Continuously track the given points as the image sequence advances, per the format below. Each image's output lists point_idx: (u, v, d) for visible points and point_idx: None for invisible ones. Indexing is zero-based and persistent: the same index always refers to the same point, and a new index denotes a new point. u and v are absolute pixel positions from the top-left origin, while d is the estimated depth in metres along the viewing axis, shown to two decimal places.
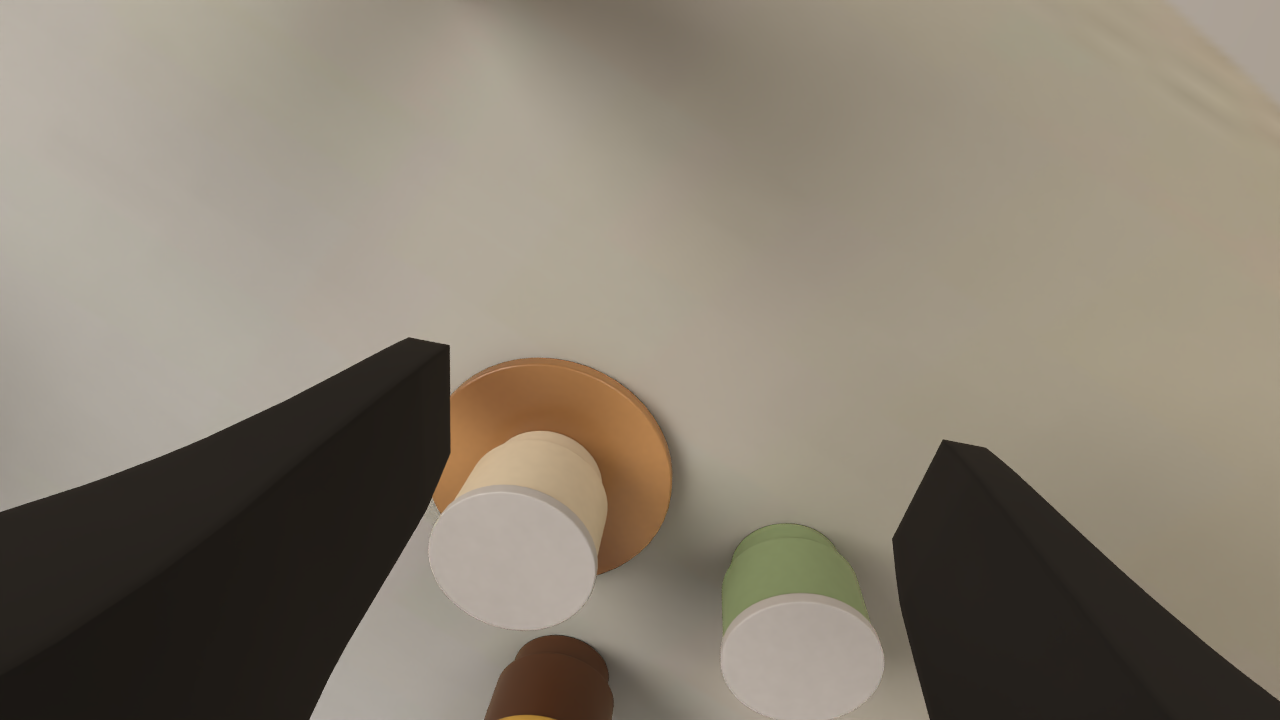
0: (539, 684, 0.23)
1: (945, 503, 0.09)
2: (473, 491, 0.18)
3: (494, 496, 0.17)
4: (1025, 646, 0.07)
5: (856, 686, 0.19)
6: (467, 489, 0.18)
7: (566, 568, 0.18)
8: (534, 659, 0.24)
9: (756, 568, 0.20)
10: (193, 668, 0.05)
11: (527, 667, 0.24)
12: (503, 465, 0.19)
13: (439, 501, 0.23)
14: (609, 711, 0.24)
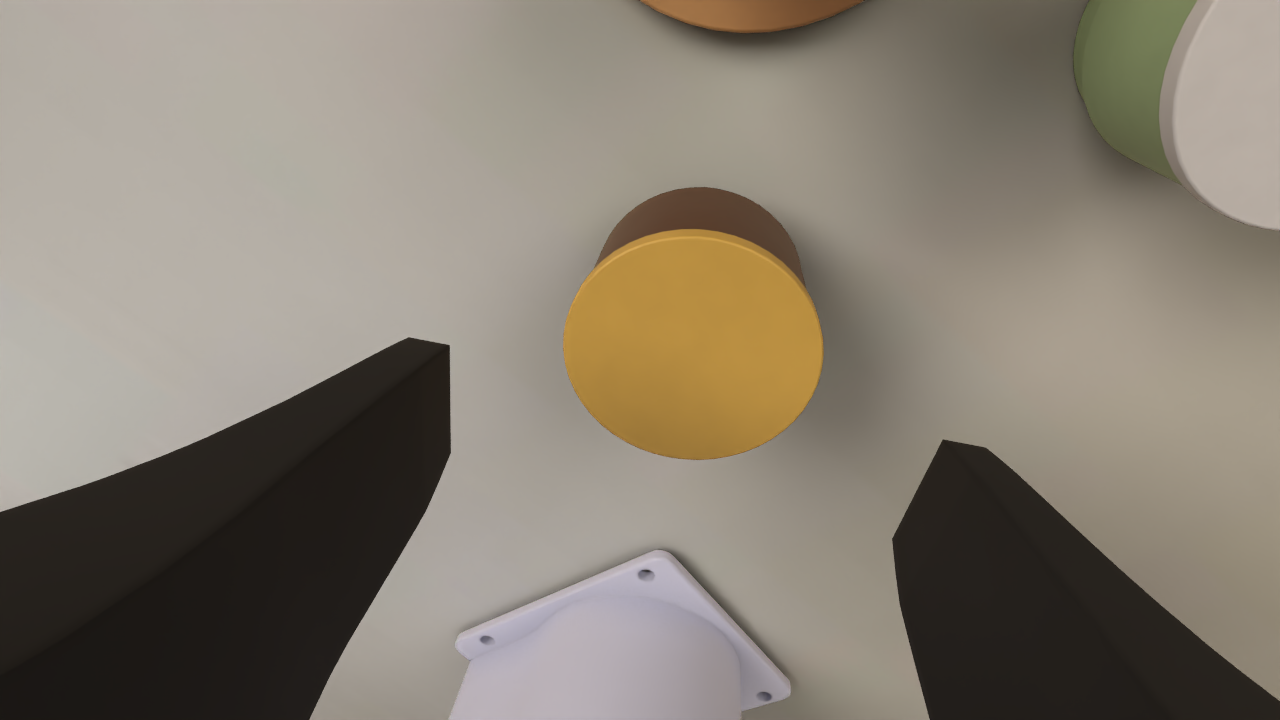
0: (702, 209, 0.12)
1: (945, 503, 0.09)
2: None
3: None
4: (1025, 646, 0.07)
5: None
6: None
7: None
8: (679, 192, 0.13)
9: None
10: (195, 668, 0.05)
11: (669, 199, 0.13)
12: None
13: None
14: None
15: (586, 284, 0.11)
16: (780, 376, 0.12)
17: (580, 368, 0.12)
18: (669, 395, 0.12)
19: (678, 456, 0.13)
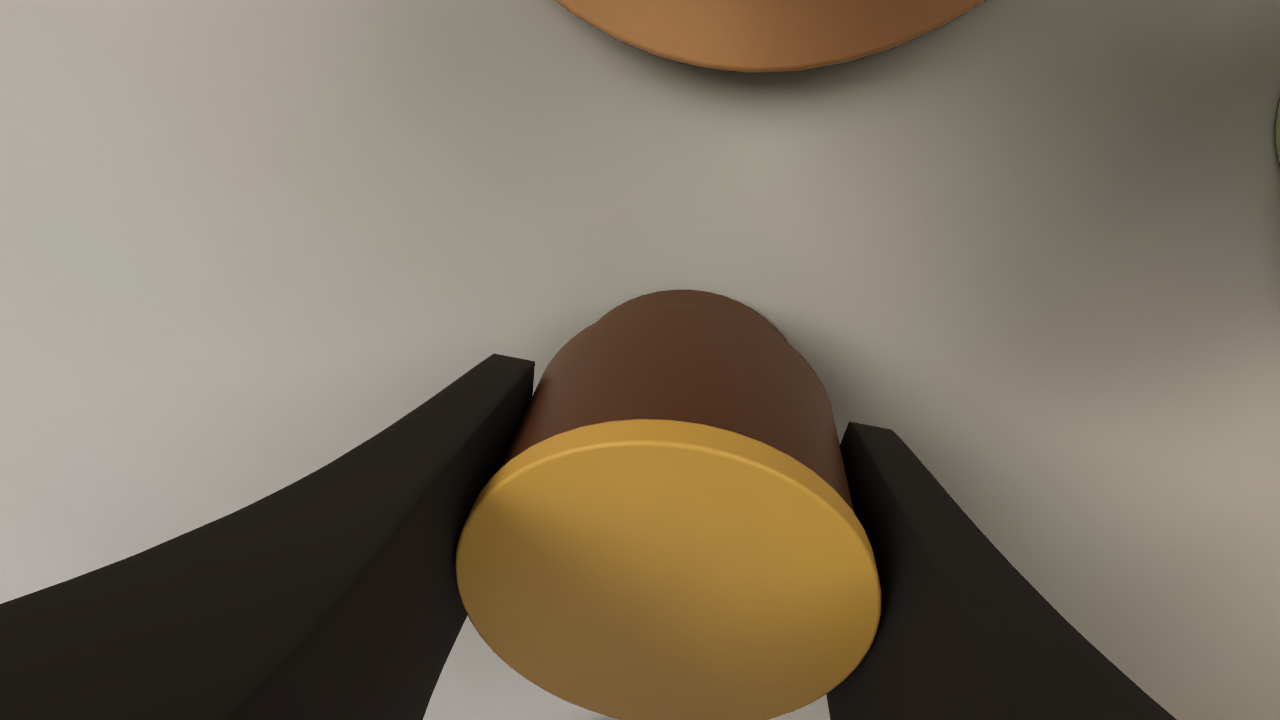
0: (681, 360, 0.07)
1: None
2: None
3: None
4: (899, 621, 0.07)
5: None
6: None
7: None
8: (649, 313, 0.09)
9: None
10: (347, 698, 0.05)
11: (632, 329, 0.08)
12: None
13: None
14: None
15: (483, 501, 0.07)
16: (806, 638, 0.07)
17: (486, 610, 0.08)
18: (629, 651, 0.08)
19: None
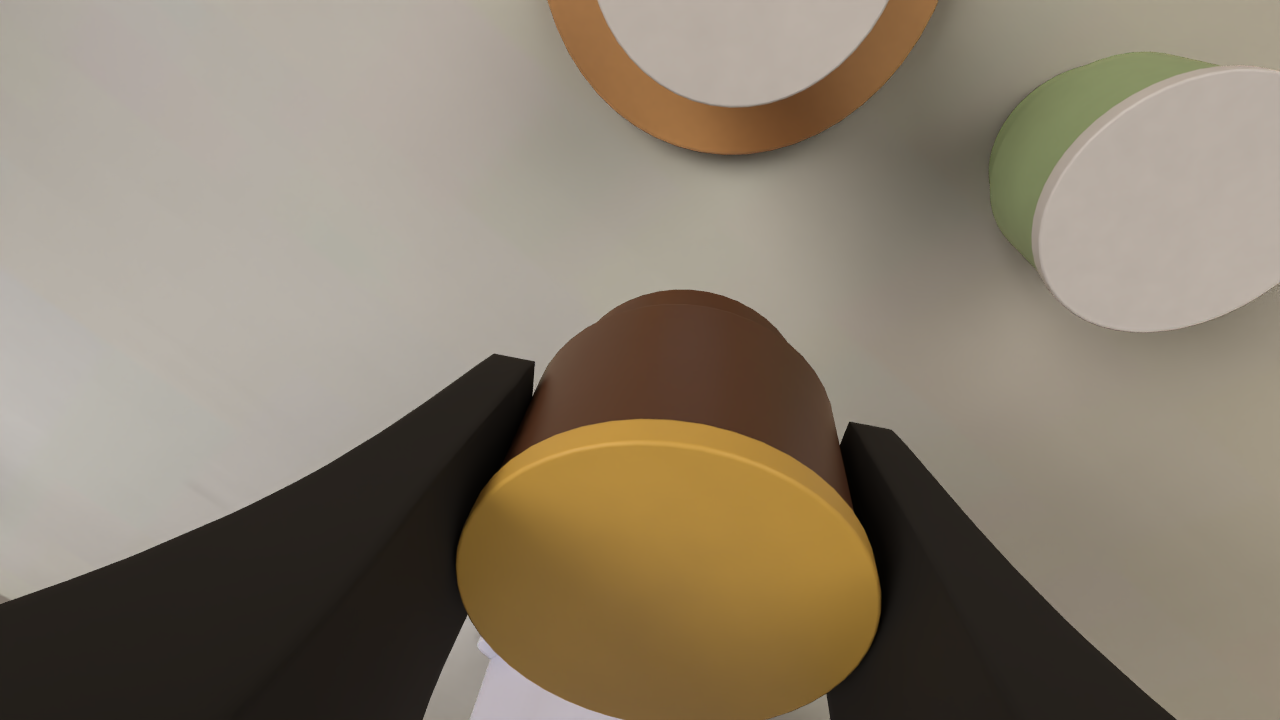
0: (681, 360, 0.07)
1: None
2: None
3: None
4: (899, 621, 0.07)
5: (1266, 259, 0.12)
6: None
7: None
8: (648, 314, 0.09)
9: (1103, 77, 0.12)
10: (346, 700, 0.05)
11: (632, 329, 0.08)
12: None
13: None
14: None
15: (484, 501, 0.07)
16: (807, 637, 0.07)
17: (486, 609, 0.08)
18: (629, 651, 0.08)
19: None
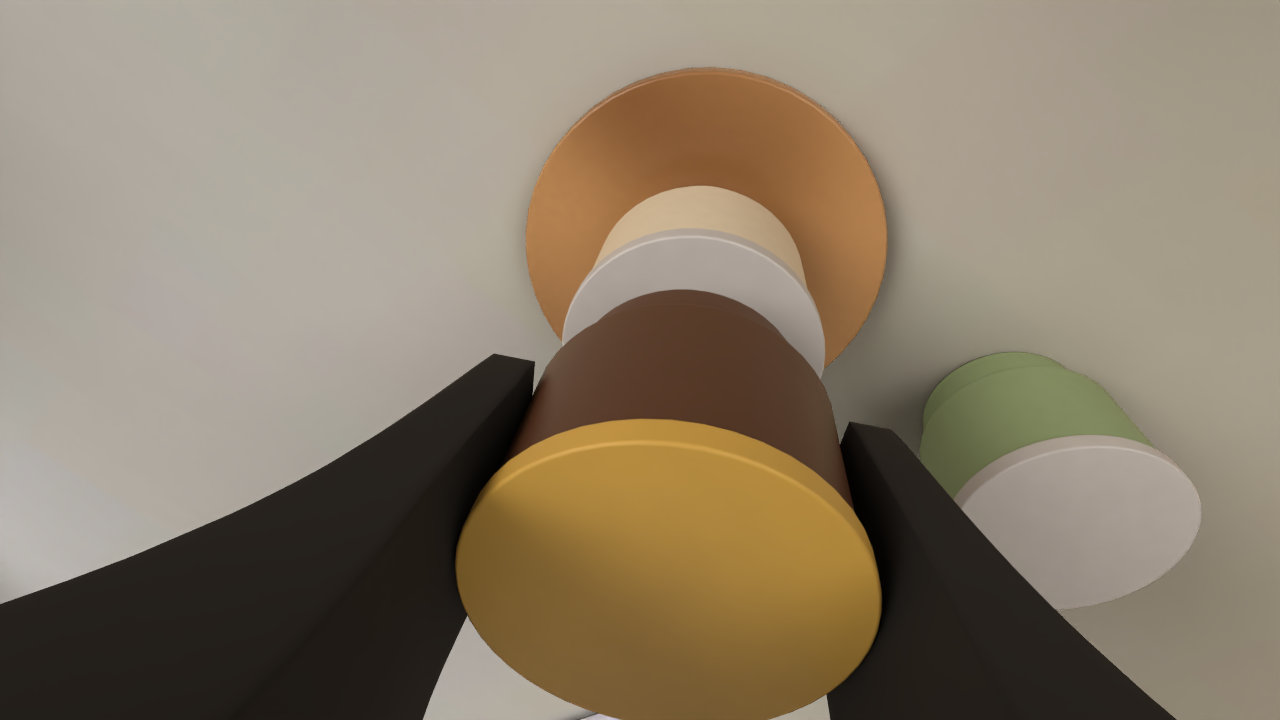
0: (681, 360, 0.07)
1: None
2: (649, 236, 0.11)
3: (687, 243, 0.11)
4: (899, 621, 0.07)
5: (1138, 568, 0.14)
6: (628, 240, 0.12)
7: None
8: (648, 313, 0.09)
9: (1005, 402, 0.14)
10: (346, 699, 0.05)
11: (632, 329, 0.08)
12: (680, 211, 0.12)
13: (541, 288, 0.16)
14: None
15: (483, 501, 0.07)
16: (808, 638, 0.07)
17: (486, 610, 0.08)
18: (629, 651, 0.08)
19: None
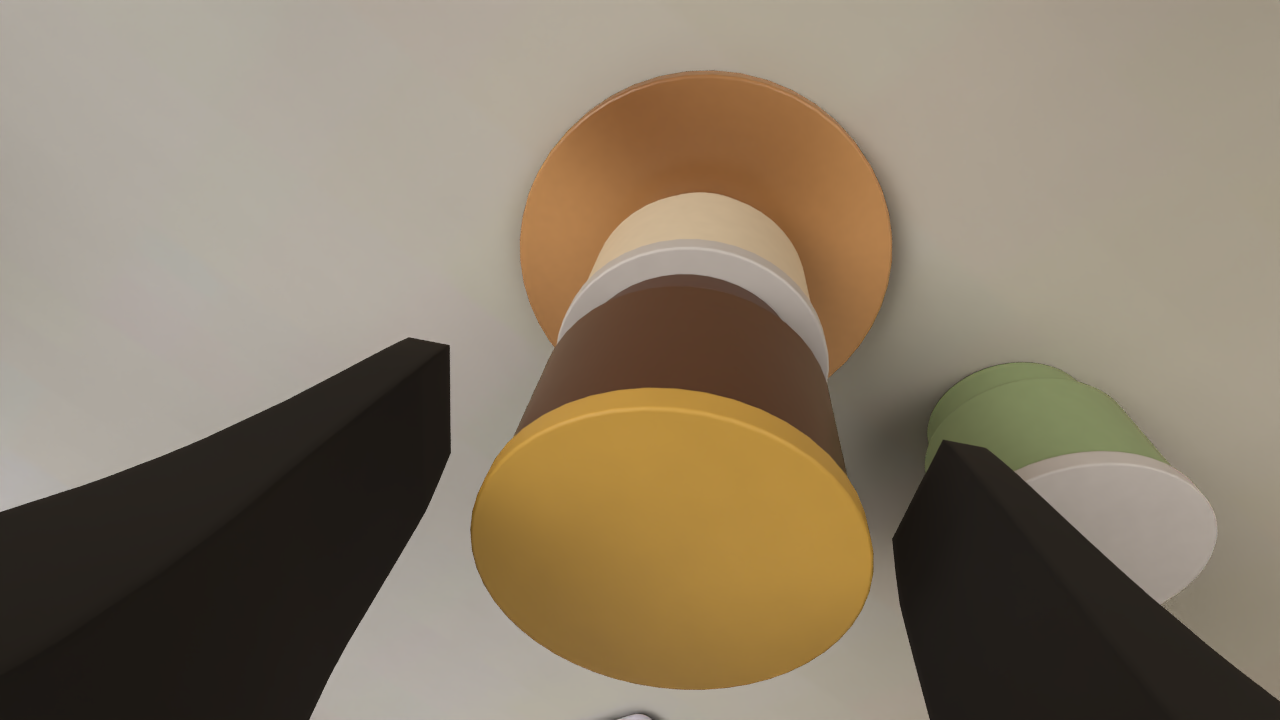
0: (684, 335, 0.08)
1: (945, 503, 0.09)
2: (645, 247, 0.10)
3: (685, 255, 0.10)
4: (1025, 646, 0.07)
5: (1151, 587, 0.13)
6: (624, 251, 0.11)
7: None
8: (653, 295, 0.09)
9: (1013, 416, 0.14)
10: (195, 668, 0.05)
11: (637, 308, 0.09)
12: (678, 220, 0.12)
13: (536, 297, 0.16)
14: None
15: (498, 466, 0.07)
16: (804, 598, 0.08)
17: (499, 573, 0.08)
18: (635, 613, 0.08)
19: (651, 684, 0.09)
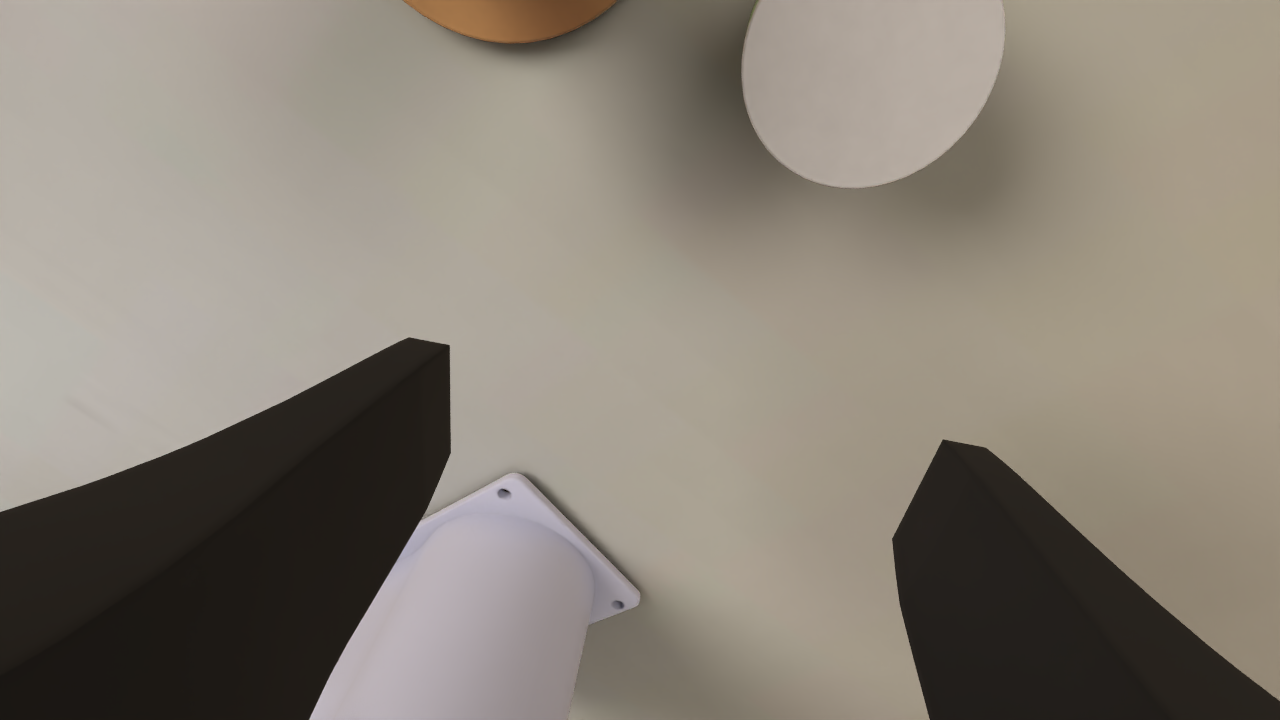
0: None
1: (945, 503, 0.09)
2: None
3: None
4: (1025, 646, 0.07)
5: (948, 109, 0.12)
6: None
7: None
8: None
9: None
10: (196, 667, 0.05)
11: None
12: None
13: None
14: None
15: None
16: None
17: None
18: None
19: None
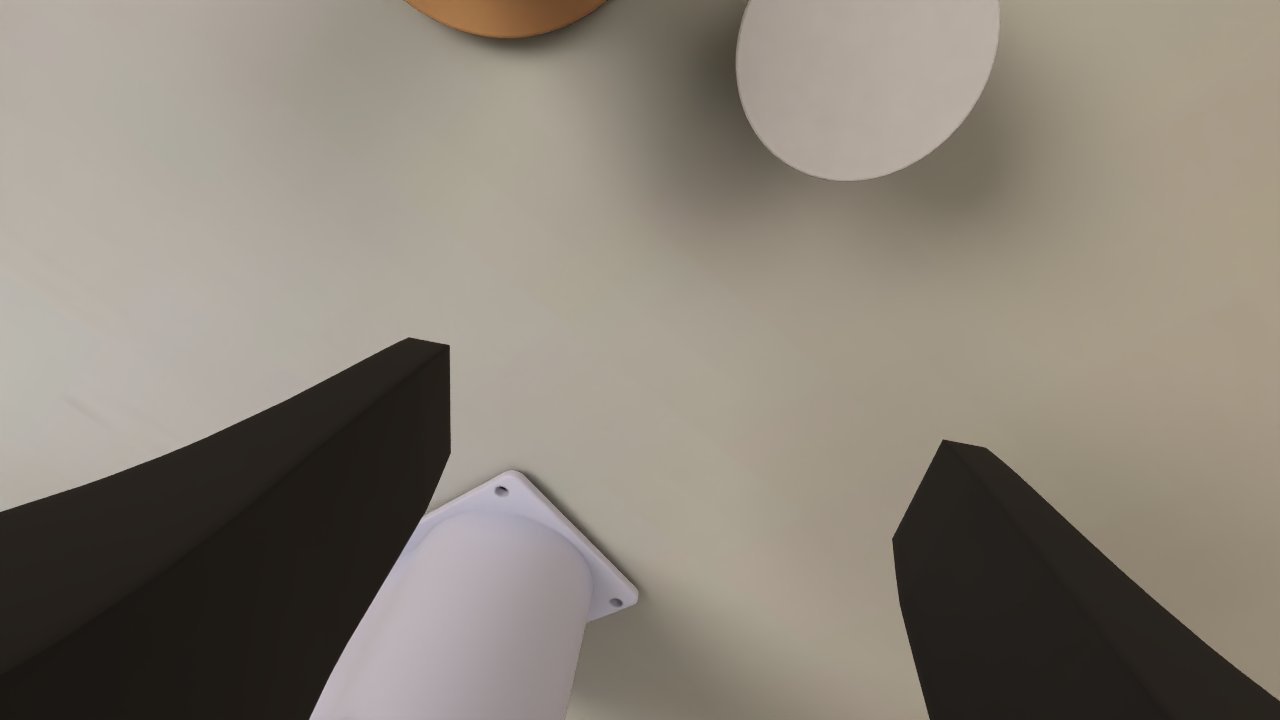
0: None
1: (945, 503, 0.09)
2: None
3: None
4: (1026, 646, 0.07)
5: (943, 101, 0.12)
6: None
7: None
8: None
9: None
10: (196, 667, 0.05)
11: None
12: None
13: None
14: None
15: None
16: None
17: None
18: None
19: None
